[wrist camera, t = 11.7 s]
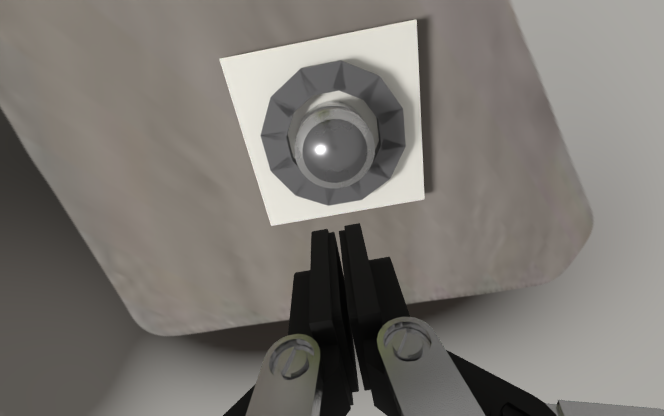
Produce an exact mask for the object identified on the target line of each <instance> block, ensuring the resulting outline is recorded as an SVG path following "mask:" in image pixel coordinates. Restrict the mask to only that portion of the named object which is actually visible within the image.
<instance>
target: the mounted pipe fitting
mask: <svg viewBox="0 0 664 416" xmlns="http://www.w3.org/2000/svg"><path fill="white" fill-rule="evenodd" d="M220 63H221V66H222V69H223V72H224V75H225V79H226V82H227V85H228V88H229V92H230V95H231V98H232V101H233V104H234V108H235V111H236V114H237V117H238V120H239V124H240V127H241V130H242V133H243V136H244V140H245V143H246V146H247V149H248V153H249V156H250V159H251V162H252V165H253V169H254V172H255V175H256V178H257V181H258V185H259V188H260V191H261V194H262V198H263V201H264V204H265V207H266V210H267V214H268V217H269V220H270V223H271V226H273V225H279V224H285V223H290V222H296V221H302V220H308V219H314V218H319V217H325V216H331V215H337V214H342V213H348V212H354V211H360V210H365V209H371V208H377V207H383V206H389V205H394V204H400V203H406V202H412V201H417V200H423V199H424V176H423V153H422V131H421V108H420V85H419V63H418V40H417V19H416V20H411V21H406V22H401V23H396V24H391V25H386V26H381V27H376V28H371V29H366V30H361V31H356V32H351V33H346V34H341V35H336V36H331V37H326V38H321V39H316V40H311V41H306V42H301V43H296V44H291V45H286V46H281V47H276V48H271V49H266V50H261V51H256V52H251V53H246V54H241V55H236V56H231V57H226V58H221V59H220ZM327 101H339V102H343V103H346V104H348V105H350V106H352V107H353V108H355V109H356V110H357V111H358V112H359V113H360V115H361V116H362V118H363V119H364V121H365V122H366V124H367V126H368V127H369V129H370V131H371V133H372V135H373V138H374V143H375V155H374V159H373V162H372V165H371V167H370V169H369V170H368V172H367V173H366V174H365V175H364V176H363V177H362V178H361V179H360V180H359V181H357V182H356V183H354V184H352V185H350V186H347V187H343V188H336V189H335V188H325V187H321V186H319V185H316V184H315V183H313V182H311V181H310V180H308V179H307V178H306V177H305V176H304V175H303V173H302V172H301V170H300V169H299V167H298V165H297V162H296V159H295V150H294V148H295V141H296V137H297V132H298V128H299V124H300V122H301V120H302V118H303V116H304V115H305V114H306V113H307V112H308V111H309V110H310V109H311V108H312V107H314V106H316V105H317V104H320V103H323V102H327Z"/></svg>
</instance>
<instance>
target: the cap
mask: <svg viewBox="0 0 664 416" xmlns="http://www.w3.org/2000/svg"><path fill="white" fill-rule="evenodd" d="M294 150H295V159H296V162H297V165H298V167H299V169H300V170H301V172H302V173H303V175H304V176H305V177H306V178H307V179H308V180H310V181H311V182H313V183H315V184H316V185H319V186H321V187H325V188H335V189H336V188H343V187H347V186H350V185H352V184H354V183H356V182H357V181H359V180H360V179H361V178H362V177H363V176H364V175H365V174H366V173H367V172H368V170H369V169H370V167H371V165H372V162H373V159H374V155H375V143H374V138H373V135H372V133H371V131H370V129H369V127H368V126H367V124H366V122H365V121H364V119H363V118H362V116H361V115H360V113H359V112H358V111H357V110H356V109H355V108H353V107H352V106H350V105H348V104H346V103H343V102H339V101H327V102H323V103H320V104H317V105H316V106H314V107H312V108H311V109H310V110H309V111H308V112H307V113H306V114H305V115H304V116H303V118H302V120H301V122H300V124H299V128H298V132H297V137H296V141H295V148H294Z"/></svg>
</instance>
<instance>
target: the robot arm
mask: <svg viewBox="0 0 664 416" xmlns="http://www.w3.org/2000/svg"><path fill="white" fill-rule="evenodd" d="M339 236H340V244H341V253H342V262H343V271H344V275H343V271H342V266H341V261H340V256H339V252H338V247H337V242H336V237H335V233H334V232H331V233H329V232H328V229H324V230H319V231H313V232H312V237H311V270H309V271H303V272H297V273H295V274H294V281H293V291H292V301H291V311H290V321H289V332H288V336H286V337H284V338H281V339H280V340H278V341H277V342H276V343H274V344H273V345H272V347H271V348H270V349H269V350H268V352H267V354H266V356H265V358H264V360H263V363H262V366H261V369H260V373H259V376H258V379H257V382H256V384H255V385H254V386H253V387H252V388H251V389H250V390H249V391H248V392H247V393H246V394H245V395H244V396H243V397H242V398H241V399H240V400H239V401H238V402H237V403H236V404H235V405H234V406H232V407H231V408H230V409H229V410H228V412H226V413H225V414H224V415H223V416H346V415H347V413H348V412H349V411H350V409H351V407H350V405H353V397H352V392H358V391H359V387H358V379H357V370H356V362H355V353H354V345H353V339H354V344H355V348H356V353H357V357H358V362H359V367H360V371H361V375H362V380H363V385H364V390H371V392H372V396H373V401H374V406H376V407H377V408H378V409H379V410H381V411H382V412H383V413H385V414H386V415H387V416H664V410H663V409H657V408H646V407H634V406H623V405H611V404H599V403H587V402H575V401H564V400H558V403H557V404H546V403H544V402H542V401H541V400H539V399H538V398H536V397H535V396H533V395H531V394H529V393H528V392H526V391H524V390H522V389H520V388H518V387H516V386H514V385H512V384H510V383H508V382H507V381H505V380H503V379H501V378H499V377H497V376H495V375H493V374H491V373H489V372H487V371H485V370H484V369H481V368H480V367H478V366H476V365H474V364H472V363H470V362H468V361H466V360H464V359H463V358H460V357H459V356H457V355H455V354H453V353H451V352H449V351H447V350H445V348H444V346H443V345H442V343H441V341H440V339H439V338H438V336H437V335H436V333H435V331H434V330H433V329H432V328H431V327H430V326H429V325H428V324H427V323H425V322H424V321H422V320H419V319H416V318H414V317H410V315H409V312H408V310H407V306H406V303H405V300H404V297H403V295H402V292H401V289H400V286H399V283H398V280H397V277H396V274H395V271H394V268H393V265H392V262H391V259H390V257H385V258H379V259H374V260H368V256H367V252H366V247H365V243H364V239H363V234H362V230H361V226H360V223H359V224H353V225H347V226H345V230H343V231H339ZM352 334H353V336H352Z"/></svg>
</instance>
